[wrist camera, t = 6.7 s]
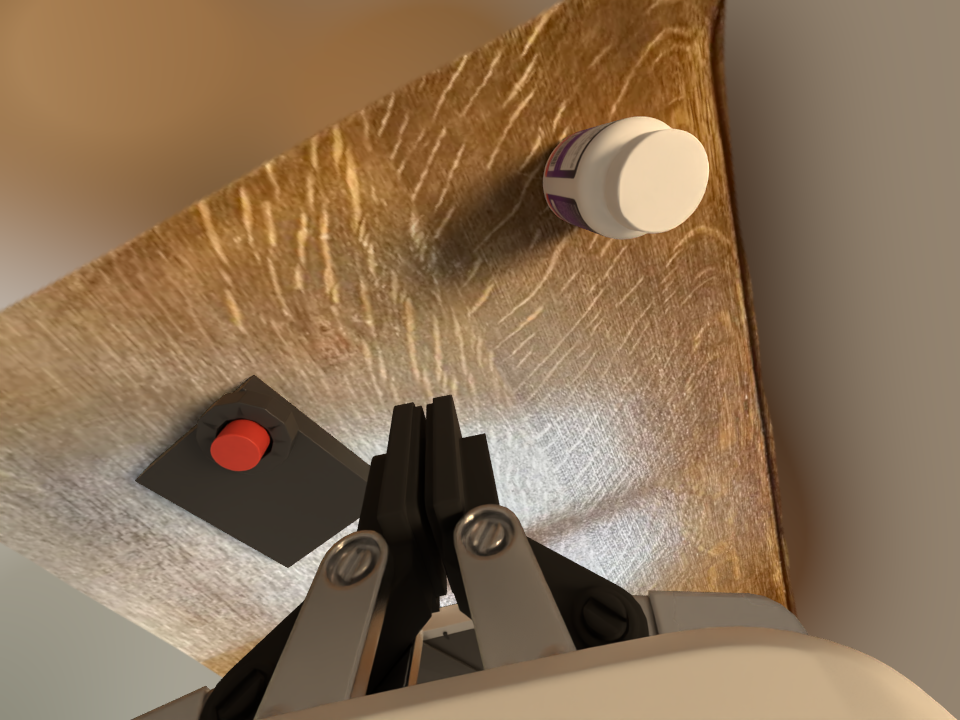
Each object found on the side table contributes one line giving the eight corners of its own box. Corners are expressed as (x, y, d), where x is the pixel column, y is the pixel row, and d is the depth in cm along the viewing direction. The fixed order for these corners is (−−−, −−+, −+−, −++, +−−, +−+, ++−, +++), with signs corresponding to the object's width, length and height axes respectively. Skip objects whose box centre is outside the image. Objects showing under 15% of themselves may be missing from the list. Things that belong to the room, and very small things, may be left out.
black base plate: (145, 460, 30) (112, 493, 27) (257, 362, 28) (235, 387, 25) (294, 549, 36) (281, 585, 33) (398, 475, 34) (395, 507, 31)
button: (213, 436, 26) (199, 452, 25) (242, 411, 26) (230, 426, 24) (250, 461, 28) (239, 478, 26) (279, 438, 27) (270, 454, 26)
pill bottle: (623, 215, 26) (719, 238, 17) (544, 230, 26) (601, 261, 17) (623, 122, 24) (734, 95, 15) (537, 138, 24) (598, 120, 15)
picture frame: (370, 624, 42) (421, 712, 52) (366, 652, 40) (420, 740, 49) (511, 590, 42) (537, 685, 52) (516, 617, 40) (542, 711, 49)
